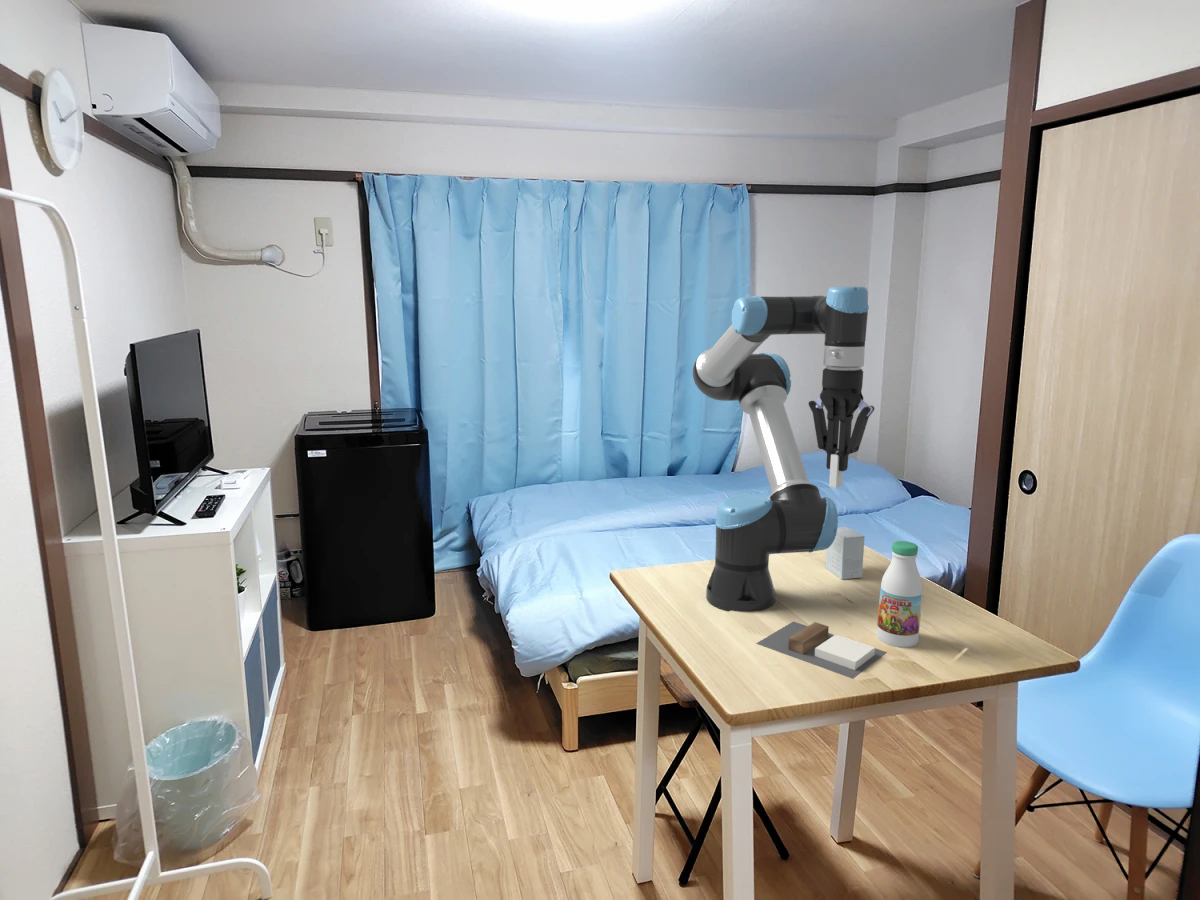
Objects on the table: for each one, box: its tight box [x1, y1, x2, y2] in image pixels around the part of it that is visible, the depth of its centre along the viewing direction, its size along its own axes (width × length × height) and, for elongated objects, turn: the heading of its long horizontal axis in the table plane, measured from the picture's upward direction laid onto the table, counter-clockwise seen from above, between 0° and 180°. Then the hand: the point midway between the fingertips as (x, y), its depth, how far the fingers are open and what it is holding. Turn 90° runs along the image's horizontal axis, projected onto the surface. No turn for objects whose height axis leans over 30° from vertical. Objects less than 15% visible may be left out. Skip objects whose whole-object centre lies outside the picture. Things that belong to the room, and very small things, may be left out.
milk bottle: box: [876, 540, 923, 648], centre depth 152 cm, size 8×8×20 cm
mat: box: [755, 621, 888, 679], centre depth 150 cm, size 20×14×1 cm
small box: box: [825, 526, 865, 580], centre depth 188 cm, size 8×6×10 cm
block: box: [788, 621, 830, 655], centre depth 151 cm, size 3×10×2 cm, turn 136°
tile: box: [815, 634, 875, 670], centre depth 146 cm, size 2×8×8 cm
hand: (835, 485), depth 156 cm, fingers closed
